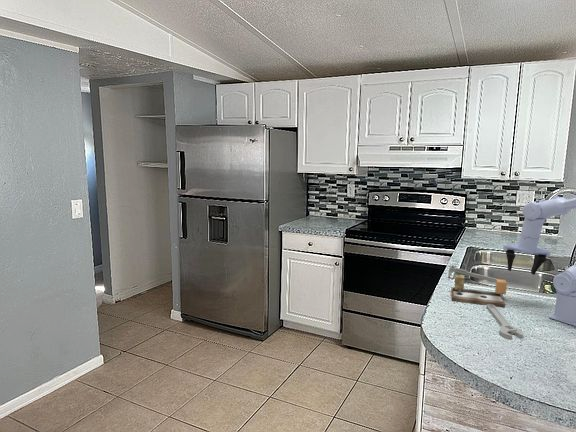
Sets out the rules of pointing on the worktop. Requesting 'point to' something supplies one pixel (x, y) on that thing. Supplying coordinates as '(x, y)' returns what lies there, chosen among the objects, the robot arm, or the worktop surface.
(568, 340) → the worktop surface
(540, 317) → the worktop surface
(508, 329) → the adjustable wrench
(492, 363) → the worktop surface
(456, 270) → the caliper
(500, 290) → the block
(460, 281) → the board
